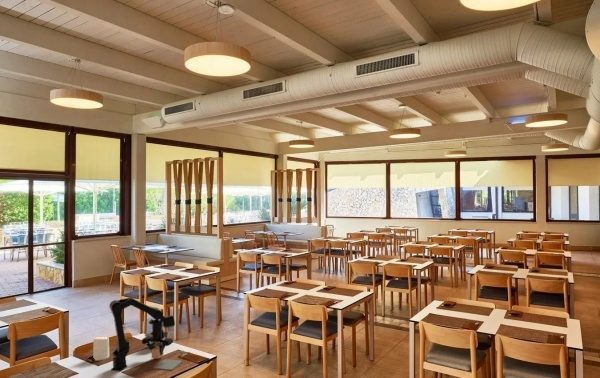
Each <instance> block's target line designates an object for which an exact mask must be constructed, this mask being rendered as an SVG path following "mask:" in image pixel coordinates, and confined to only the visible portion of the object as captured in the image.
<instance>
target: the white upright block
mask: <svg viewBox="0 0 600 378" xmlns="http://www.w3.org/2000/svg"><path fill="white" fill-rule="evenodd" d="M92 344H93V348H92V349H93V350H92V353H93V355H92V356H93V358H94V359H95V360H94V359H93V360H94V361H104V360H107V359H108V358H109V357H110V339H109V337H106V336H105V337H102V336H101V337H94V338H93V343H92ZM106 358H107V359H106Z"/></svg>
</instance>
